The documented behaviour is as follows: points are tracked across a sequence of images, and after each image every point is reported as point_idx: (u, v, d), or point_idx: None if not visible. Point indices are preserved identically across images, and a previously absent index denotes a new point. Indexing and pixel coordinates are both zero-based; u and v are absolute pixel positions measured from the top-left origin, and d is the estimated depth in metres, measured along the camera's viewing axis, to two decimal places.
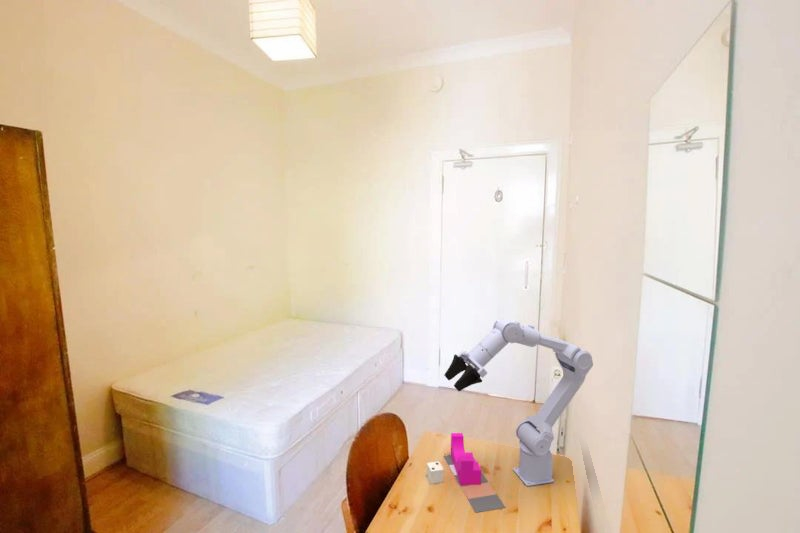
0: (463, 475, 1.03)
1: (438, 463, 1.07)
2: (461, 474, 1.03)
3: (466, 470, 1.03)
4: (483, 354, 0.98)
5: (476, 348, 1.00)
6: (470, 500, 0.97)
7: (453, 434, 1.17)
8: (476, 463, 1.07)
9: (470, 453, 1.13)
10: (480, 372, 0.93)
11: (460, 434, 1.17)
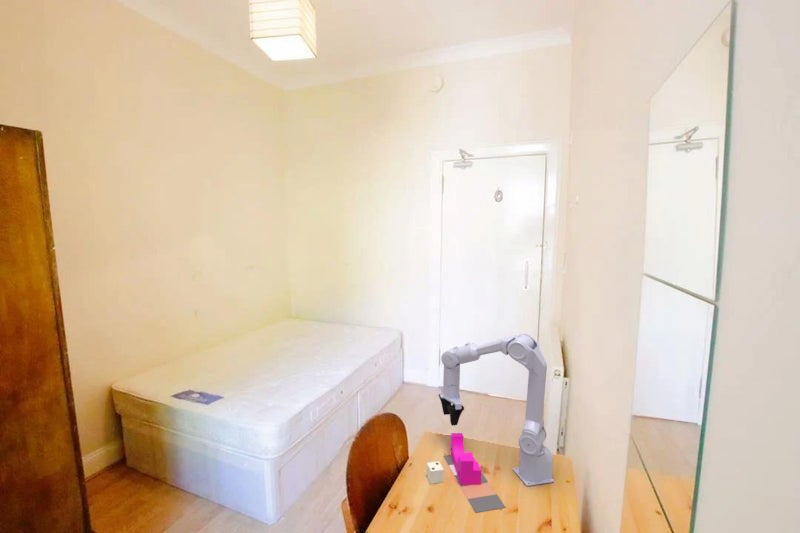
0: (463, 475, 1.03)
1: (438, 463, 1.07)
2: (461, 474, 1.03)
3: (466, 470, 1.03)
4: (451, 389, 1.20)
5: (444, 387, 1.21)
6: (470, 500, 0.97)
7: (453, 434, 1.17)
8: (476, 463, 1.07)
9: (470, 453, 1.13)
10: (456, 408, 1.16)
11: (460, 434, 1.17)
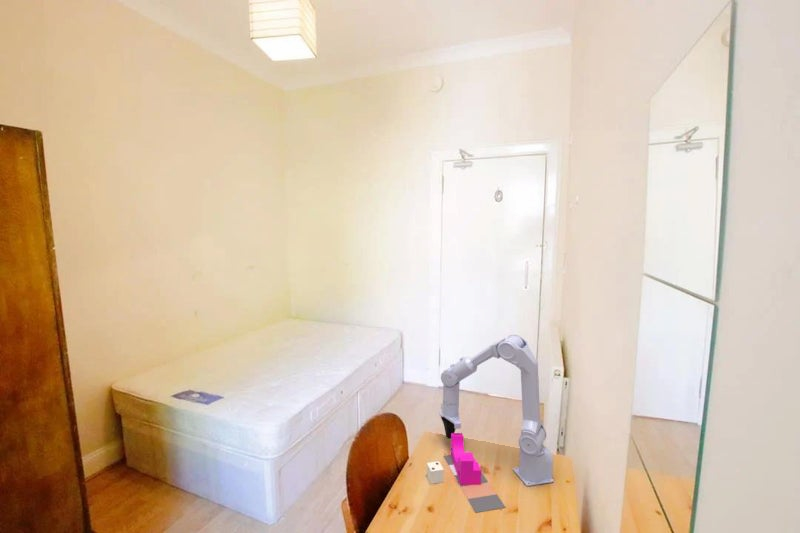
0: (463, 475, 1.03)
1: (438, 463, 1.07)
2: (461, 474, 1.03)
3: (466, 470, 1.03)
4: (450, 408, 1.20)
5: (443, 406, 1.22)
6: (470, 500, 0.97)
7: (453, 434, 1.17)
8: (476, 463, 1.07)
9: (470, 453, 1.13)
10: (456, 427, 1.16)
11: (460, 434, 1.17)
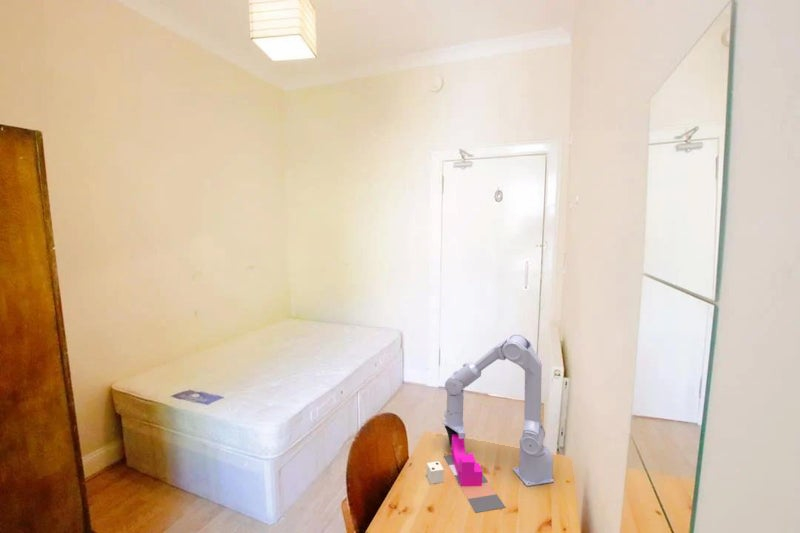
0: (464, 477, 1.03)
1: (438, 463, 1.07)
2: (462, 475, 1.03)
3: (468, 471, 1.03)
4: (454, 417, 1.17)
5: (447, 415, 1.18)
6: (470, 500, 0.97)
7: (454, 435, 1.16)
8: (477, 464, 1.06)
9: (471, 454, 1.13)
10: (460, 437, 1.13)
11: None
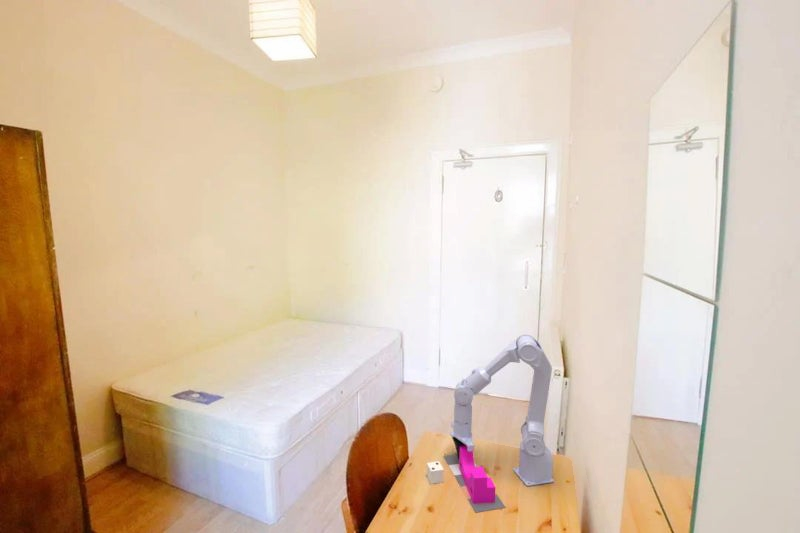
0: (476, 493, 0.96)
1: (438, 463, 1.07)
2: (474, 492, 0.96)
3: (480, 487, 0.96)
4: (462, 428, 1.10)
5: (455, 425, 1.12)
6: (470, 500, 0.97)
7: (462, 447, 1.10)
8: (489, 479, 0.99)
9: (481, 468, 1.06)
10: (469, 449, 1.06)
11: None
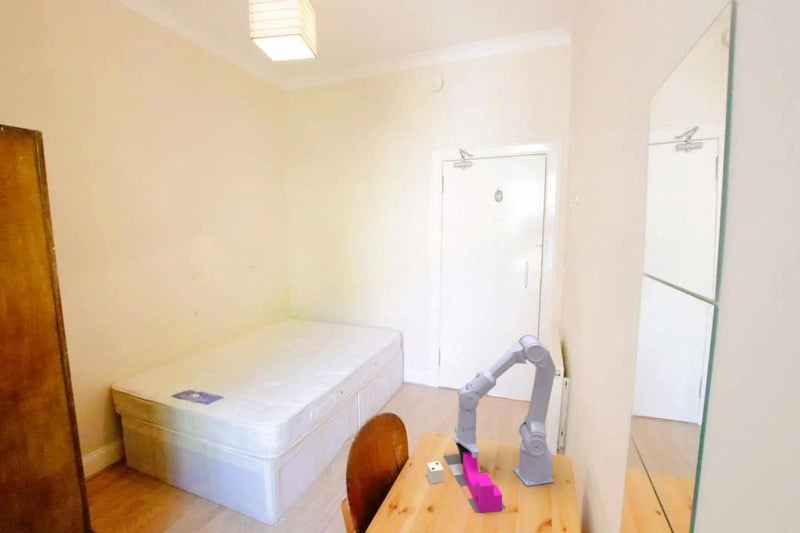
0: (483, 502, 0.93)
1: (438, 463, 1.07)
2: (481, 500, 0.93)
3: (486, 495, 0.93)
4: (466, 433, 1.07)
5: (459, 431, 1.08)
6: (470, 500, 0.97)
7: (466, 453, 1.06)
8: (495, 486, 0.97)
9: (486, 474, 1.03)
10: (474, 456, 1.03)
11: None
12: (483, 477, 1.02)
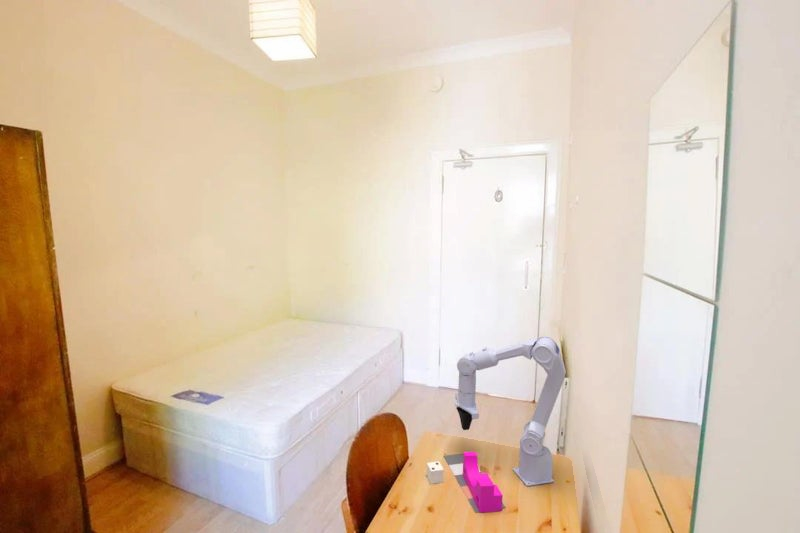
0: (483, 502, 0.93)
1: (438, 463, 1.07)
2: (481, 500, 0.93)
3: (487, 496, 0.93)
4: (466, 397, 1.14)
5: (459, 395, 1.15)
6: (470, 500, 0.97)
7: (466, 453, 1.06)
8: (495, 486, 0.97)
9: (486, 474, 1.03)
10: (473, 417, 1.10)
11: (473, 453, 1.07)
12: (483, 477, 1.02)
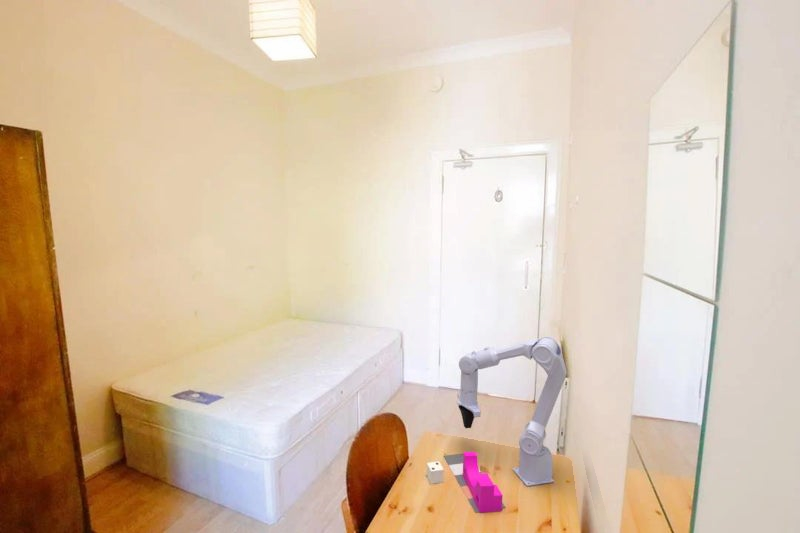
0: (483, 502, 0.93)
1: (438, 463, 1.07)
2: (481, 500, 0.93)
3: (487, 496, 0.93)
4: (468, 396, 1.15)
5: (461, 394, 1.16)
6: (470, 500, 0.97)
7: (466, 453, 1.06)
8: (495, 486, 0.97)
9: (486, 474, 1.03)
10: (475, 416, 1.11)
11: (473, 453, 1.07)
12: (483, 477, 1.02)
